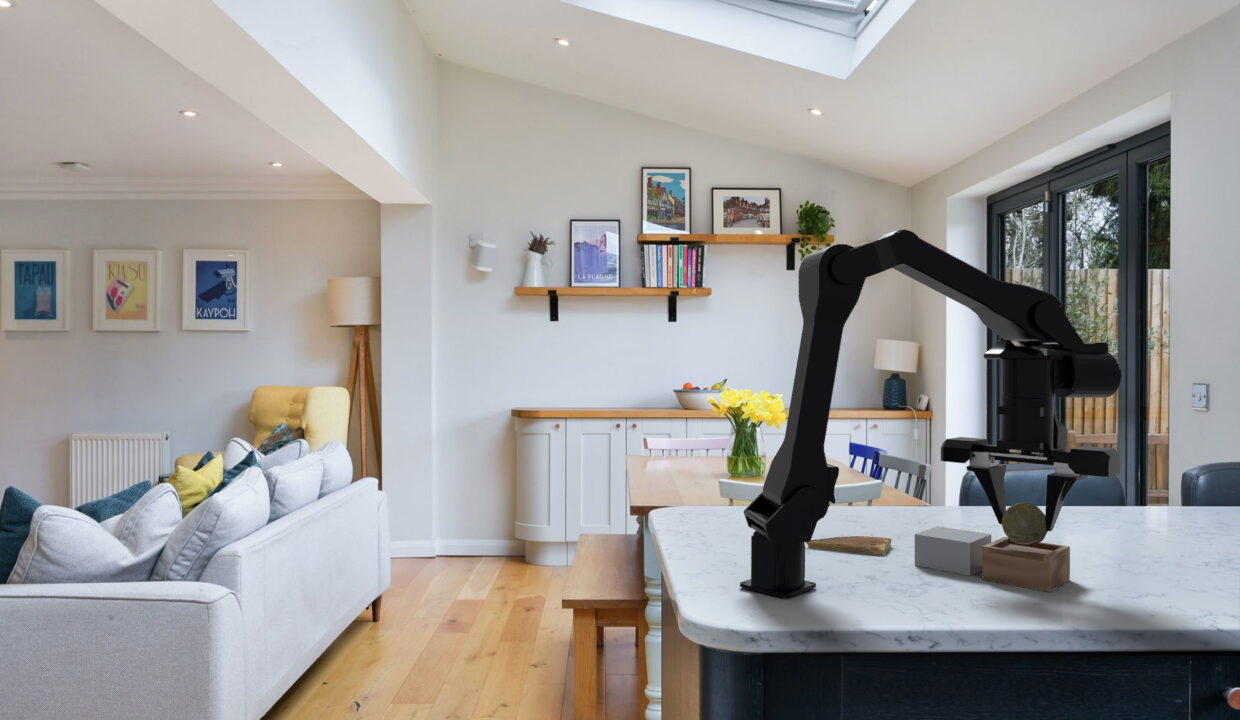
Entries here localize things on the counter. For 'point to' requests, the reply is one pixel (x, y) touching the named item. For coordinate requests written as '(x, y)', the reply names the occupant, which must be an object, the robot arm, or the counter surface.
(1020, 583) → the brown hollow rimmed box
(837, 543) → the shard
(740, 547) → the counter surface
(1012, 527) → the lime
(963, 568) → the grey stone block
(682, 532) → the counter surface
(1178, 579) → the counter surface
